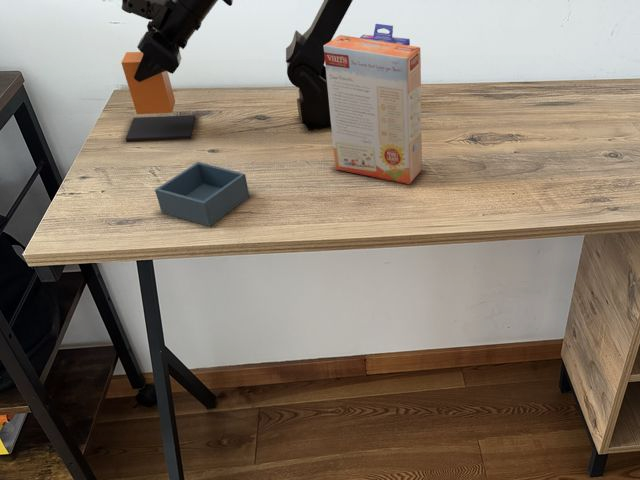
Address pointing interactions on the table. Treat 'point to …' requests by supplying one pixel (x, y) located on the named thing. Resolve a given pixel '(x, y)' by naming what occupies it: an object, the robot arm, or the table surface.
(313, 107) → the robot arm
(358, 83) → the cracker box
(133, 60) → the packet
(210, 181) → the tote
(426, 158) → the table surface
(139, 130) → the mat
